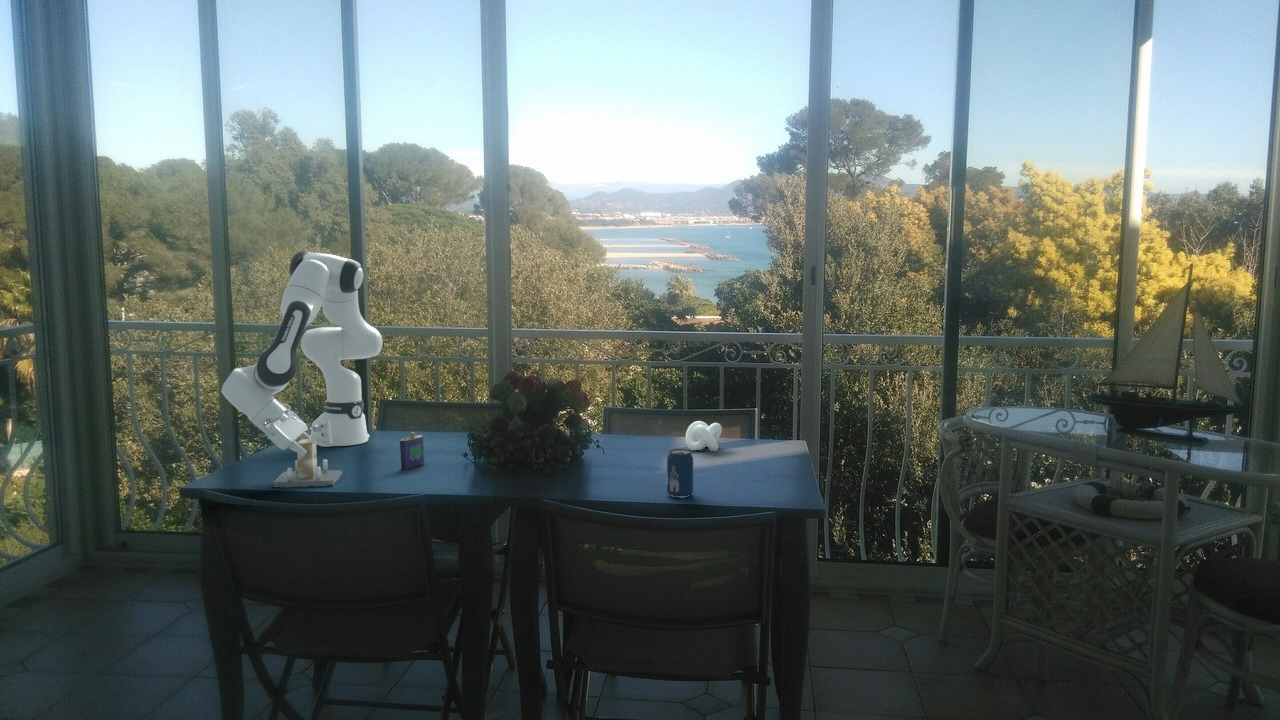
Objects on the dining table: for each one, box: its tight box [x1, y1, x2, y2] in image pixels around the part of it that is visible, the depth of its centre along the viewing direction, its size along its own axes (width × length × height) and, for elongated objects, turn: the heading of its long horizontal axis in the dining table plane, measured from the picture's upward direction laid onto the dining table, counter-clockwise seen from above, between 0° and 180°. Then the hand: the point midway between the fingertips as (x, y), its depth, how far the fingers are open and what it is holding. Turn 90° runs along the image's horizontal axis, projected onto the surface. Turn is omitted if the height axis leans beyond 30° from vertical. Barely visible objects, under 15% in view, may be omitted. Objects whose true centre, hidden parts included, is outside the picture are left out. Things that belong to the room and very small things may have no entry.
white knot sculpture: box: [685, 420, 723, 452], centre depth 299 cm, size 11×12×9 cm
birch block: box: [296, 439, 318, 478], centre depth 260 cm, size 4×5×10 cm
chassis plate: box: [272, 459, 343, 488], centre depth 260 cm, size 16×12×5 cm
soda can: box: [666, 448, 694, 496], centre depth 245 cm, size 7×7×12 cm
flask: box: [399, 431, 425, 471], centre depth 276 cm, size 9×3×11 cm, turn 152°
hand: (309, 450), depth 259 cm, fingers open, 8 cm apart
